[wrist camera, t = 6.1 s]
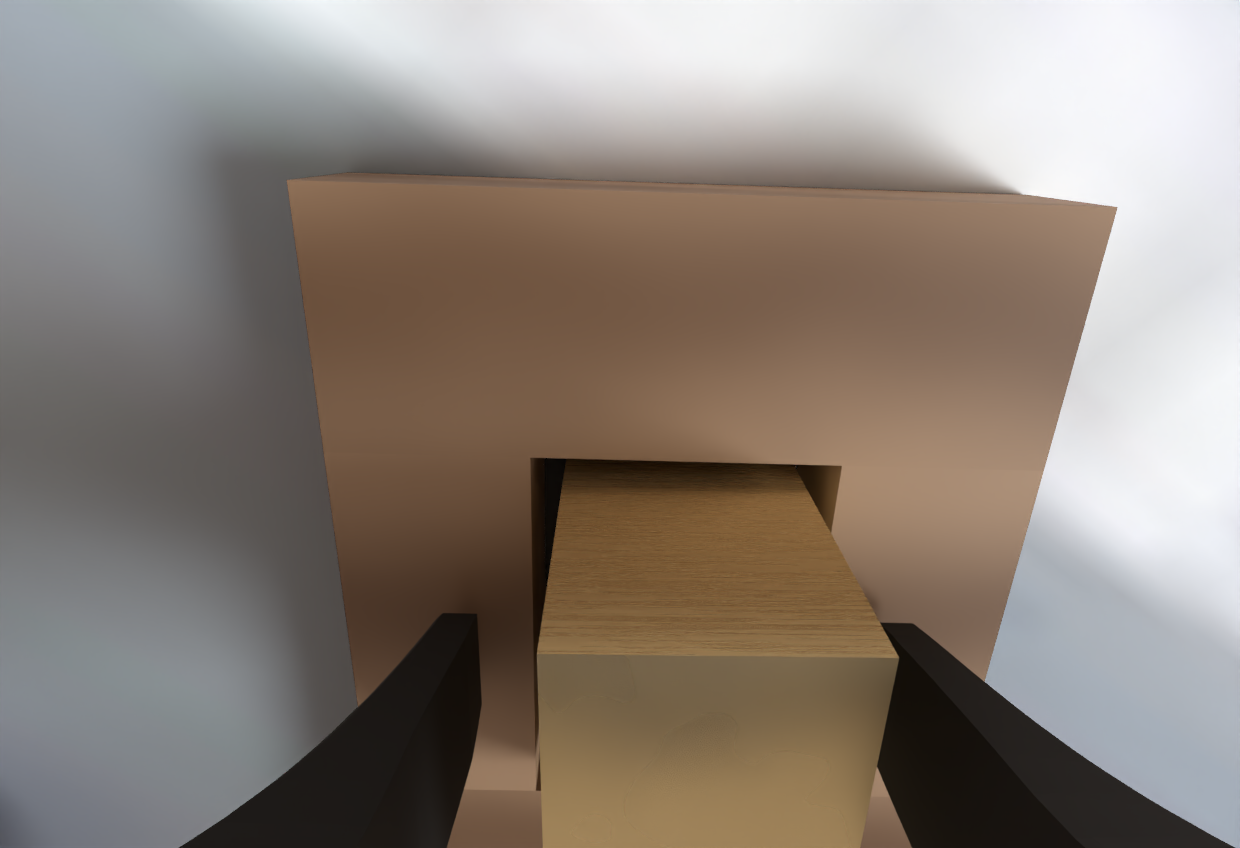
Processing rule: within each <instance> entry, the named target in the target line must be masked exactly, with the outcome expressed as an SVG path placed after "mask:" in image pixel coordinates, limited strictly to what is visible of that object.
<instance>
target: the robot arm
mask: <svg viewBox="0 0 1240 848" xmlns="http://www.w3.org/2000/svg"><path fill="white" fill-rule="evenodd" d="M880 624H881V625H882V627H883V629H884V631H885V633H886V635H887V636H888V638H889V640H890V642H891V644H892V646H893V647H894V649H895V651H896V653H897V655H898V656H899V661H898V666H897V671H896V676H895V681H894V685H893V690H892V695H891V700H890V705H889V710H888V715H887V720H886V724H885V729H884V734H883V739H882V744H881V749H880V754H879V759H878V763H877V768H878V770H879V773H880V775H881V777H882V780H883V782H884V785H885V787H886V789H887V792H888V794H889V796H890V799H891V801H892V803H893V806H894V808H895V810H896V813H897V815H898V817H899V819H900V822H901V824H902V826H903V828H904V831H905V833H906V835H907V838H908V840H909V842H910V844H911V847H912V848H1235V847H1233V846H1231V845H1229V844H1227V843H1225V842H1223V841H1221V840H1219V839H1218V838H1216V837H1214V836H1212V835H1210V834H1209V833H1207V832H1205V831H1203V830H1201V829H1200V828H1198V827H1196V826H1194V825H1193V824H1191V823H1189V822H1187V821H1186V820H1184V819H1182V818H1180V817H1179V816H1177V815H1175V814H1173V813H1171V812H1170V811H1168V810H1166V809H1164V808H1163V807H1161V806H1159V805H1158V804H1156V803H1154V802H1153V801H1151V800H1149V799H1148V798H1146V797H1144V796H1143V795H1141V794H1140V793H1138V792H1136V791H1135V790H1133V789H1132V788H1130V787H1129V786H1127V785H1125V784H1124V783H1122V782H1121V781H1119V780H1118V779H1116V778H1115V777H1113V776H1112V775H1110V774H1108V773H1107V772H1105V771H1104V770H1102V769H1101V768H1099V767H1098V766H1096V765H1095V764H1093V763H1092V762H1090V761H1089V760H1087V759H1086V758H1084V757H1083V756H1081V755H1080V754H1078V753H1077V752H1076V751H1074V750H1073V749H1071V748H1070V747H1069V746H1067V745H1066V744H1064V743H1063V742H1062V741H1060V740H1059V739H1058V738H1056V737H1055V736H1054V735H1052V734H1051V733H1049V732H1048V731H1047V730H1045V729H1044V728H1043V727H1041V726H1040V725H1039V724H1037V723H1036V722H1035V721H1033V720H1032V719H1031V718H1029V717H1028V716H1027V715H1025V714H1024V713H1023V712H1022V711H1020V710H1019V709H1018V708H1016V707H1015V706H1014V705H1013V704H1011V703H1010V702H1009V701H1008V700H1006V699H1005V698H1004V697H1003V696H1001V695H1000V694H999V693H998V692H996V691H995V690H994V689H993V688H991V687H990V686H989V685H988V684H986V683H985V682H984V681H983V680H982V679H980V678H979V677H978V676H977V675H976V674H974V673H973V672H972V671H971V670H970V669H968V668H967V667H966V666H965V665H964V664H962V663H961V662H960V661H959V660H958V659H956V658H955V657H954V656H953V655H952V654H950V653H949V652H948V651H947V650H946V649H944V648H943V647H942V646H941V645H940V644H938V643H937V642H936V641H935V640H934V639H932V638H931V637H930V636H929V635H927V634H926V633H925V632H924V631H922V630H921V629H920V628H918V627H917V626H916V625H915V624H913V623H880ZM481 706H482V697H481V677H480V658H479V639H478V620H477V614H471V613H442V614H441V615H440V616H439V617H438V618H437V619H436V620H435V621H434V622H433V624H432V625H431V626H430V627H429V628H428V630H427V631H426V632H425V633H424V635H423V636H422V637H421V638H420V639H419V641H418V642H417V643H416V644H415V645H414V647H413V648H412V649H411V650H410V651H409V652H408V654H407V655H406V656H405V657H404V658H403V659H402V660H401V662H400V663H399V664H398V665H397V666H396V667H395V668H394V669H393V670H392V672H391V673H390V674H389V675H388V676H387V677H386V678H385V679H384V680H383V681H382V682H381V684H380V685H379V686H378V687H377V688H376V689H375V690H374V691H373V692H372V693H371V694H370V695H369V696H368V697H367V699H366V700H365V701H364V702H362V703H361V704H360V705H359V706H358V707H357V708H356V709H355V710H354V711H353V712H352V713H351V714H350V715H349V716H348V717H347V718H346V719H345V720H344V721H343V722H342V723H341V724H340V725H339V726H338V727H337V728H336V729H335V730H334V731H333V732H332V733H331V734H330V735H329V736H327V737H326V738H325V739H324V740H323V741H322V742H321V743H320V744H319V745H318V746H316V747H315V748H314V749H313V750H312V751H311V752H310V753H308V754H307V755H306V756H305V757H304V758H302V759H301V760H300V761H299V762H298V763H297V764H295V765H294V766H293V767H292V768H291V769H289V770H288V771H287V772H286V773H284V774H283V775H282V776H281V777H279V778H278V779H277V780H276V781H274V782H273V783H272V784H270V785H269V786H268V787H266V788H265V789H264V790H262V791H261V792H260V793H258V794H257V795H255V796H254V797H253V798H251V799H250V800H249V801H247V802H246V803H244V804H243V805H242V806H240V807H239V808H238V809H236V810H235V811H234V812H232V813H231V814H229V815H228V816H227V817H225V818H224V819H222V820H221V821H219V822H218V823H216V824H215V825H213V826H212V827H210V828H209V829H207V830H206V831H204V832H203V833H201V834H200V835H198V836H197V837H195V838H194V839H192V840H190V841H189V842H187V843H186V844H184V845H182V846H181V847H179V848H447V845H448V842H449V839H450V835H451V832H452V828H453V825H454V822H455V818H456V815H457V811H458V808H459V805H460V801H461V798H462V794H463V791H464V787H465V784H466V780H467V777H468V773H469V770H470V766H471V763H472V759H473V753H474V748H475V742H476V736H477V731H478V724H479V718H480V712H481Z"/></svg>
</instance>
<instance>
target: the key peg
mask: <svg viewBox="0 0 1240 848" xmlns="http://www.w3.org/2000/svg"><path fill="white" fill-rule="evenodd" d="M898 661H899V656H898V655H897V653H896V651H895V649H894V647H893V646H892V644H891V642H890V640H889V638H888V636H887V635H886V633H885V631H884V629H883V627H882V625H881V624H880V622H879V620H878V618H877V616H876V615H875V613H874V611H873V609H872V607H871V605H870V604H869V602H868V600H867V598H866V596H865V594H864V593H863V591H862V589H861V587H860V585H859V584H858V582H857V580H856V578H855V576H854V574H853V573H852V571H851V569H850V567H849V565H848V563H847V562H846V560H845V558H844V556H843V554H842V552H841V551H840V549H839V547H838V545H837V543H836V542H835V540H834V538H833V536H832V534H831V532H830V531H829V529H828V527H827V525H826V523H825V521H824V520H823V518H822V516H821V514H820V512H819V511H818V509H817V507H816V505H815V503H814V501H813V500H812V498H811V496H810V494H809V492H808V490H807V489H806V487H805V485H804V483H803V481H802V480H801V478H800V476H799V474H798V472H797V470H796V469H795V467H794V465H793V464H757V463H719V462H680V461H642V460H603V459H566V464H565V470H564V477H563V484H562V490H561V497H560V504H559V510H558V517H557V523H556V530H555V537H554V543H553V550H552V557H551V563H550V570H549V577H548V583H547V590H546V596H545V603H544V610H543V616H542V623H541V630H540V636H539V643H538V650H537V676H538V708H539V740H540V773H541V805H542V837H543V848H860V846H861V841H862V837H863V832H864V827H865V822H866V817H867V812H868V807H869V802H870V798H871V793H872V788H873V783H874V778H875V773H876V768H877V763H878V759H879V754H880V749H881V744H882V739H883V734H884V729H885V724H886V720H887V715H888V710H889V705H890V700H891V695H892V690H893V685H894V681H895V676H896V671H897V666H898Z"/></svg>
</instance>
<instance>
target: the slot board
mask: <svg viewBox="0 0 1240 848" xmlns="http://www.w3.org/2000/svg"><path fill="white" fill-rule="evenodd" d="M287 186H288V193H289V201H290V208H291V215H292V223H293V230H294V238H295V245H296V252H297V260H298V267H299V275H300V282H301V289H302V297H303V304H304V311H305V319H306V326H307V334H308V341H309V348H310V356H311V363H312V371H313V378H314V385H315V393H316V400H317V408H318V415H319V422H320V430H321V437H322V444H323V452H324V459H325V467H326V474H327V481H328V489H329V496H330V504H331V511H332V518H333V526H334V533H335V541H336V548H337V555H338V563H339V570H340V577H341V585H342V592H343V600H344V607H345V614H346V622H347V629H348V637H349V644H350V651H351V659H352V666H353V674H354V681H355V688H356V696H357V703H358V706H359V705H360V704H361V703H362V702H364V701H365V700H366V699H367V697H368V696H369V695H370V694H371V693H372V692H373V691H374V690H375V689H376V688H377V687H378V686H379V685H380V684H381V682H382V681H383V680H384V679H385V678H386V677H387V676H388V675H389V674H390V673H391V672H392V670H393V669H394V668H395V667H396V666H397V665H398V664H399V663H400V662H401V660H402V659H403V658H404V657H405V656H406V655H407V654H408V652H409V651H410V650H411V649H412V648H413V647H414V645H415V644H416V643H417V642H418V641H419V639H420V638H421V637H422V636H423V635H424V633H425V632H426V631H427V630H428V628H429V627H430V626H431V625H432V624H433V622H434V621H435V620H436V619H437V618H438V617H439V616H440V615H441V614H442V613H471V614H477V620H478V639H479V658H480V677H481V697H482V706H481V712H480V718H479V724H478V731H477V736H476V742H475V748H474V753H473V759H472V763H471V766H470V770H469V773H468V777H467V780H466V784H465V787H464V791H463V794H462V798H461V801H460V805H459V808H458V811H457V815H456V818H455V822H454V825H453V828H452V832H451V835H450V839H449V842H448V845H447V848H543V837H542V805H541V773H540V740H539V708H538V676H537V650H538V643H539V636H540V630H541V623H542V616H543V610H544V603H545V596H546V560H545V458H565V459H603V460H642V461H680V462H719V463H757V464H796V465H798V467H797V472H798V474H799V476H800V478H801V480H802V481H803V483H804V485H805V487H806V489H807V490H808V492H809V494H810V496H811V498H812V500H813V501H814V503H815V505H816V507H817V509H818V511H819V512H820V514H821V516H822V518H823V520H824V521H825V523H826V525H827V527H828V529H829V531H830V532H831V534H832V536H833V538H834V540H835V542H836V543H837V545H838V547H839V549H840V551H841V552H842V554H843V556H844V558H845V560H846V562H847V563H848V565H849V567H850V569H851V571H852V573H853V574H854V576H855V578H856V580H857V582H858V584H859V585H860V587H861V589H862V591H863V593H864V594H865V596H866V598H867V600H868V602H869V604H870V605H871V607H872V609H873V611H874V613H875V615H876V616H877V618H878V620H879V622H880V623H913V624H915V625H916V626H917V627H918V628H920V629H921V630H922V631H924V632H925V633H926V634H927V635H929V636H930V637H931V638H932V639H934V640H935V641H936V642H937V643H938V644H940V645H941V646H942V647H943V648H944V649H946V650H947V651H948V652H949V653H950V654H952V655H953V656H954V657H955V658H956V659H958V660H959V661H960V662H961V663H962V664H964V665H965V666H966V667H967V668H968V669H970V670H971V671H972V672H973V673H974V674H976V675H977V676H978V677H979V678H980V679H982V680H983V681H985V678H986V674H987V671H988V667H989V664H990V660H991V656H992V653H993V649H994V646H995V642H996V639H997V635H998V631H999V628H1000V624H1001V621H1002V617H1003V614H1004V610H1005V607H1006V603H1007V599H1008V596H1009V592H1010V589H1011V585H1012V582H1013V578H1014V574H1015V571H1016V567H1017V564H1018V560H1019V557H1020V553H1021V549H1022V546H1023V542H1024V539H1025V535H1026V532H1027V528H1028V525H1029V521H1030V517H1031V514H1032V510H1033V507H1034V503H1035V500H1036V496H1037V492H1038V489H1039V485H1040V482H1041V478H1042V475H1043V471H1044V467H1045V464H1046V460H1047V457H1048V453H1049V450H1050V446H1051V442H1052V439H1053V435H1054V432H1055V428H1056V425H1057V421H1058V418H1059V414H1060V410H1061V407H1062V403H1063V400H1064V396H1065V393H1066V389H1067V385H1068V382H1069V378H1070V375H1071V371H1072V368H1073V364H1074V360H1075V357H1076V353H1077V350H1078V346H1079V343H1080V339H1081V335H1082V332H1083V328H1084V325H1085V321H1086V318H1087V314H1088V311H1089V307H1090V303H1091V300H1092V296H1093V293H1094V289H1095V286H1096V282H1097V278H1098V275H1099V271H1100V268H1101V264H1102V261H1103V257H1104V253H1105V250H1106V246H1107V243H1108V239H1109V236H1110V232H1111V228H1112V225H1113V221H1114V218H1115V214H1116V211H1117V207H1112V206H1104V205H1097V204H1090V203H1082V202H1075V201H1068V200H1060V199H1053V198H1046V197H1038V196H1031V195H1017V194H987V193H957V192H926V191H896V190H866V189H835V188H805V187H775V186H744V185H714V184H684V183H653V182H623V181H593V180H562V179H532V178H502V177H471V176H441V175H411V174H381V173H350V172H347V173H339V174H331V175H323V176H315V177H307V178H299V179H291V180H287ZM860 848H912V847H911V844H910V842H909V840H908V838H907V835H906V833H905V831H904V828H903V826H902V824H901V822H900V819H899V817H898V815H897V813H896V810H895V808H894V806H893V803H892V801H891V799H890V796H889V794H888V792H887V789H886V787H885V785H884V782H883V780H882V777H881V775H880V773H879V770H878V768H876V773H875V778H874V783H873V788H872V793H871V798H870V802H869V807H868V812H867V817H866V822H865V827H864V832H863V837H862V841H861V846H860Z"/></svg>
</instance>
